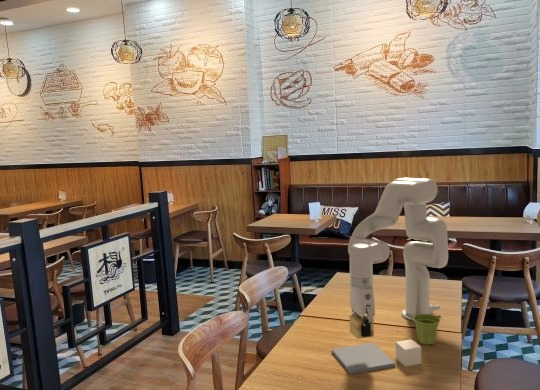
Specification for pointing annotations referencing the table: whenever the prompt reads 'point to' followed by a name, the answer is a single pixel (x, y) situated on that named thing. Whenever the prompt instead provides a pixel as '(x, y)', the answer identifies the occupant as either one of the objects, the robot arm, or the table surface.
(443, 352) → the table surface
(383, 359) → the plate
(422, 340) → the plant pot
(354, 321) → the mustard block
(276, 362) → the table surface
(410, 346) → the cream block
